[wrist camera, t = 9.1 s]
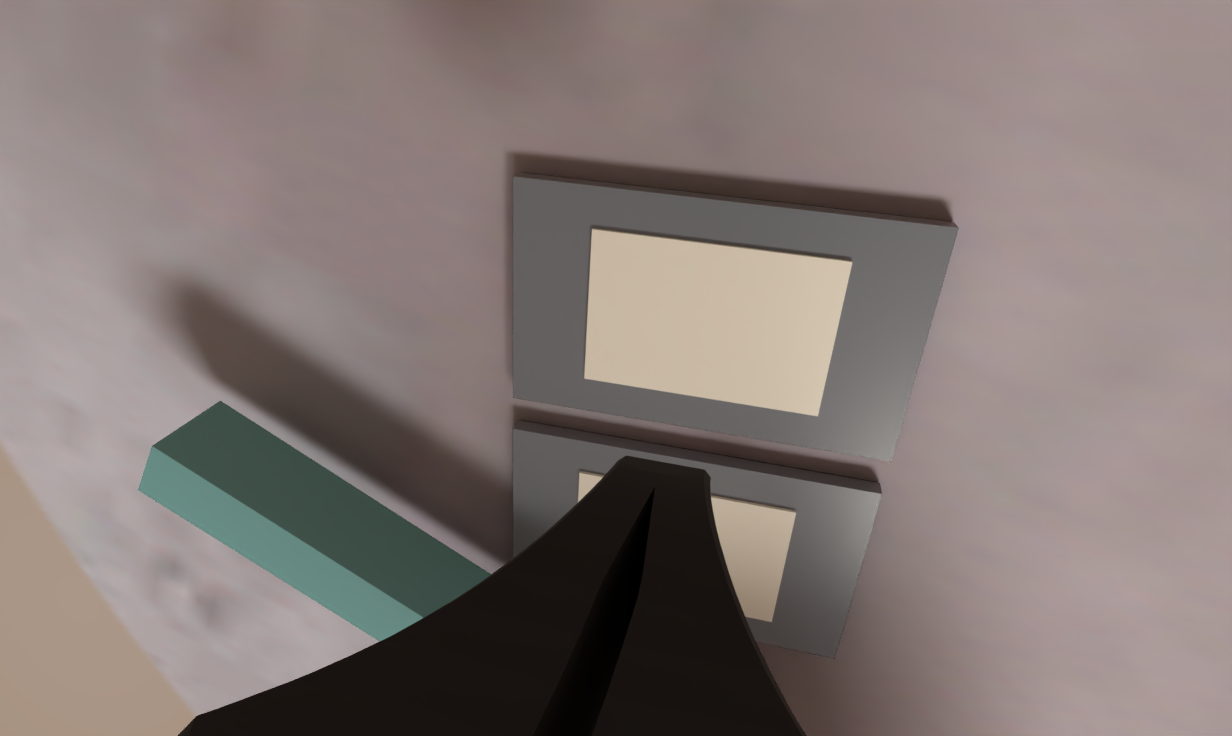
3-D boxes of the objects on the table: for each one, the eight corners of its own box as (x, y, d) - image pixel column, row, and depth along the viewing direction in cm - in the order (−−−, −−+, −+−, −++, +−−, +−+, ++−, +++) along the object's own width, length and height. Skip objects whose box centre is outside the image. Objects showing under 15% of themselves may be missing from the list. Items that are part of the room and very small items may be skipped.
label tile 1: (888, 451, 18) (891, 463, 18) (519, 389, 20) (512, 399, 19) (954, 221, 16) (959, 228, 15) (520, 172, 17) (511, 177, 17)
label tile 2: (833, 645, 21) (834, 661, 21) (518, 578, 23) (512, 591, 23) (879, 482, 19) (882, 496, 18) (519, 420, 20) (511, 430, 20)
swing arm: (768, 726, 21) (763, 873, 18) (699, 778, 23) (681, 922, 19) (228, 378, 20) (102, 458, 16) (197, 461, 22) (77, 550, 18)
